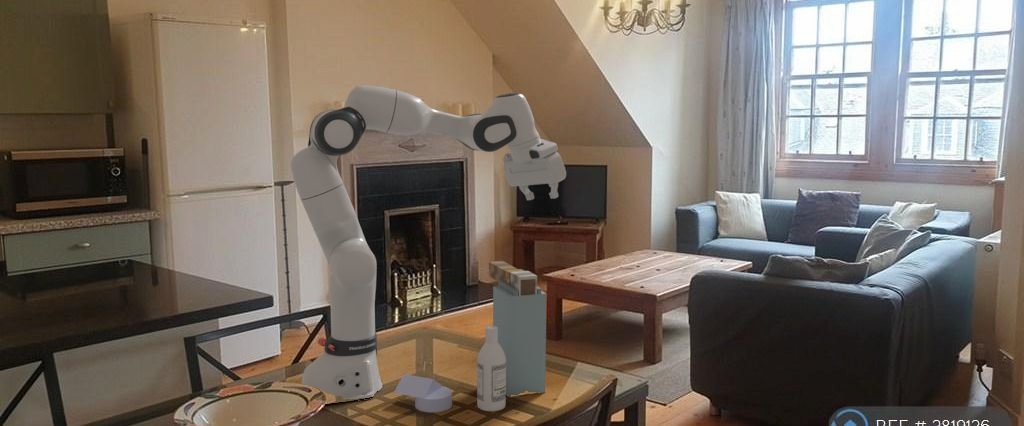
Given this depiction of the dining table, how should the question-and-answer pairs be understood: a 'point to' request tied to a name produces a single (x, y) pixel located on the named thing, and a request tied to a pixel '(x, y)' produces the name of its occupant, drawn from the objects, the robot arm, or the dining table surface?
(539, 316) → the pale blue tall block
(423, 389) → the wedge on round base
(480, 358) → the bath foam
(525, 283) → the patterned long box
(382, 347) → the dining table surface
